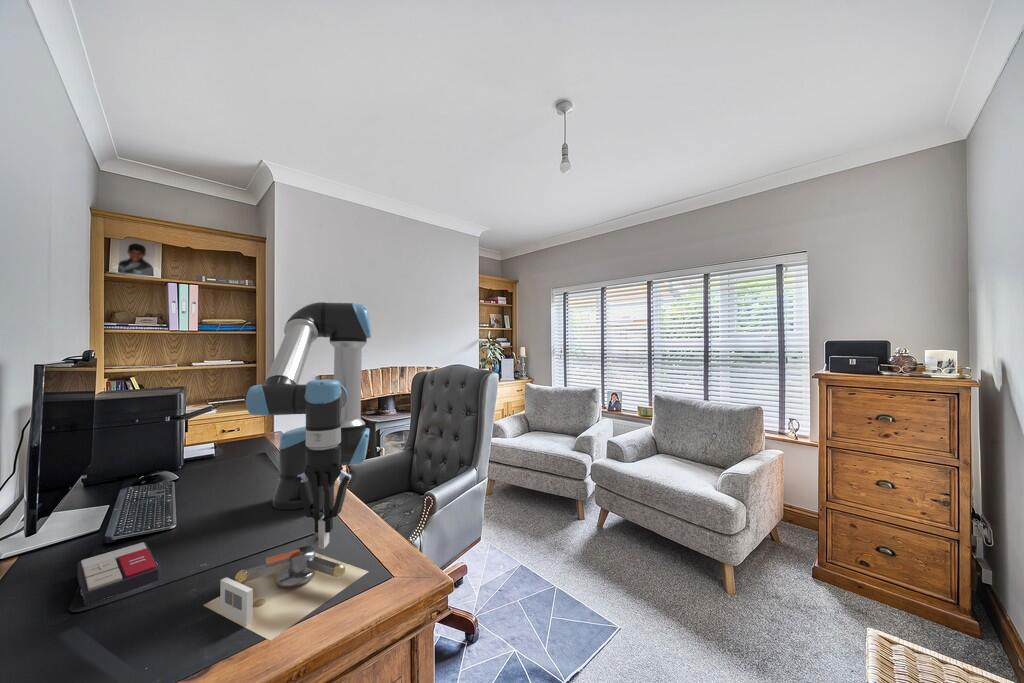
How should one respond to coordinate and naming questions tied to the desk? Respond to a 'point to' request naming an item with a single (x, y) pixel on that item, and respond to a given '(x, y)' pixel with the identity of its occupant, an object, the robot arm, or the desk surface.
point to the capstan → (293, 566)
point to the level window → (236, 601)
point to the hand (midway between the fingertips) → (323, 545)
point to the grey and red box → (117, 572)
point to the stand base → (290, 599)
